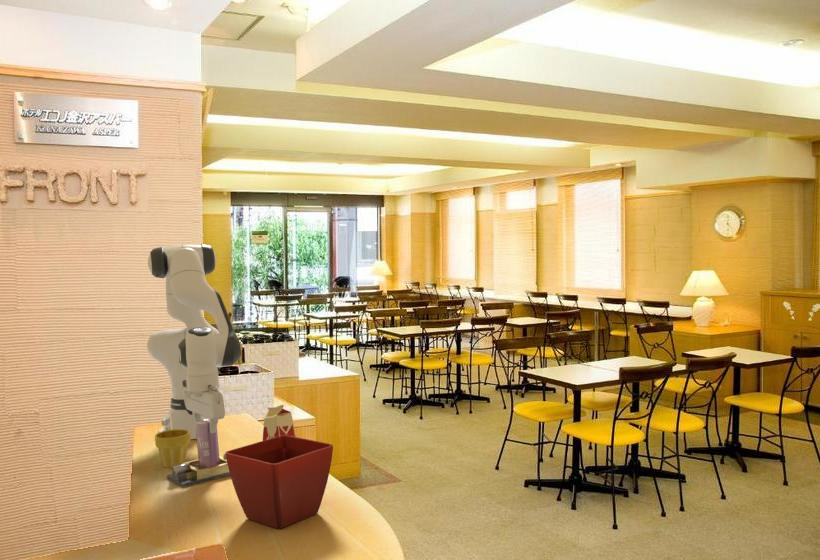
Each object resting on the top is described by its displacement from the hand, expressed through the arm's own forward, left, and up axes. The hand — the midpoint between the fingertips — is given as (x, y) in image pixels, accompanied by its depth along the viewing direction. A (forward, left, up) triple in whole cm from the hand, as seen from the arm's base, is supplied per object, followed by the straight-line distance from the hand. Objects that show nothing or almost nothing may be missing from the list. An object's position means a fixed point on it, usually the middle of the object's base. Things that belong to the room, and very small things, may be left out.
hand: (205, 429), depth 203 cm
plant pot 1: (-18, -3, -14) cm, 22 cm away
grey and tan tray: (0, 0, -13) cm, 13 cm away
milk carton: (+13, +17, -14) cm, 25 cm away
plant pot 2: (+45, -1, -14) cm, 47 cm away
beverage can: (+2, 0, -12) cm, 12 cm away
